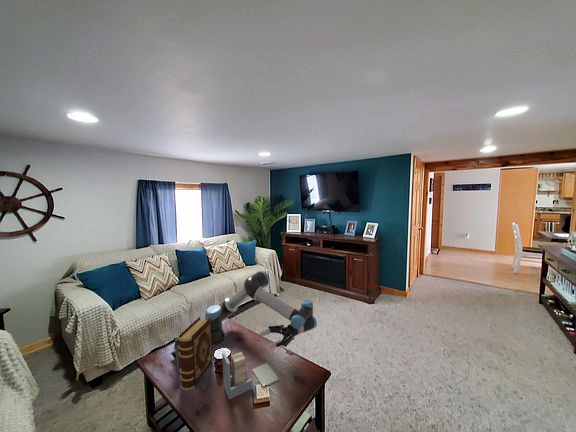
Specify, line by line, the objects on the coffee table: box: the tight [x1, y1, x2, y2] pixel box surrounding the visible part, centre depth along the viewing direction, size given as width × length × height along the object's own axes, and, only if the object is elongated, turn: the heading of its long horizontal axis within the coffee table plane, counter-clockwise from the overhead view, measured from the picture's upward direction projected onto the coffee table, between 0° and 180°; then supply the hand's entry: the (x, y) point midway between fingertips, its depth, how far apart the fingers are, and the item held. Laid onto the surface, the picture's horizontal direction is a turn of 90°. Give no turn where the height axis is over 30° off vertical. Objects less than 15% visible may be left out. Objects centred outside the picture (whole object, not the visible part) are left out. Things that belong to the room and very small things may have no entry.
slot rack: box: [221, 352, 253, 400], centre depth 128 cm, size 9×13×20 cm
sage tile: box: [251, 362, 280, 386], centre depth 138 cm, size 15×10×1 cm, turn 32°
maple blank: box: [230, 351, 247, 388], centre depth 129 cm, size 6×6×18 cm
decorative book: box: [177, 316, 213, 392], centre depth 137 cm, size 22×8×30 cm, turn 168°
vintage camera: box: [170, 336, 181, 370], centre depth 150 cm, size 10×16×20 cm, turn 45°
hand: (265, 340), depth 138 cm, fingers open, 13 cm apart
